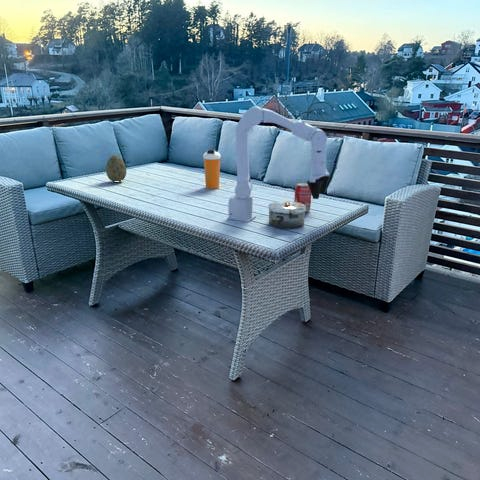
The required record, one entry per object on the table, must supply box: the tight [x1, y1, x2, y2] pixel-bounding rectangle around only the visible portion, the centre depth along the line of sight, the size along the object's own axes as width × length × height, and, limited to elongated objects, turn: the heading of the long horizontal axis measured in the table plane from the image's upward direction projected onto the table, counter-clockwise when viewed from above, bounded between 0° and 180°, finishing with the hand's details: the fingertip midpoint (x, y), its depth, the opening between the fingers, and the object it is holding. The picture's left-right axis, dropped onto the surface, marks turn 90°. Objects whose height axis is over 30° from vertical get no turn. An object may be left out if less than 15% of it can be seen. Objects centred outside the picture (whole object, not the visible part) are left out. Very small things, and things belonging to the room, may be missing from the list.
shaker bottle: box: [202, 148, 221, 190], centre depth 215 cm, size 9×9×20 cm
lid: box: [267, 200, 306, 218], centre depth 158 cm, size 15×19×2 cm
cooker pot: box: [268, 209, 306, 230], centre depth 160 cm, size 14×19×6 cm
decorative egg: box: [105, 154, 127, 182], centre depth 226 cm, size 11×11×15 cm
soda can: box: [293, 182, 312, 214], centre depth 177 cm, size 7×7×12 cm
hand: (319, 196), depth 162 cm, fingers open, 7 cm apart
